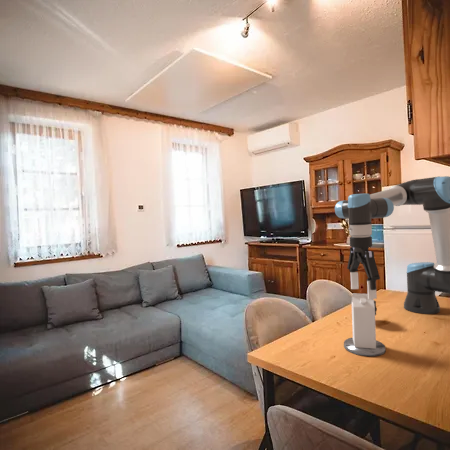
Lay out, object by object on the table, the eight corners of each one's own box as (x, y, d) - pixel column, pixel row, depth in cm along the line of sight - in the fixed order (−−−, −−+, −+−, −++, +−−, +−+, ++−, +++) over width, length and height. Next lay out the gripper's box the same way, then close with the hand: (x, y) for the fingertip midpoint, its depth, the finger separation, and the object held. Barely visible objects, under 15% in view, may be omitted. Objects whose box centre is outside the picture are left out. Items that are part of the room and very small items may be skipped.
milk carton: (352, 339, 121) (351, 291, 120) (372, 341, 119) (371, 291, 118) (354, 347, 114) (353, 296, 113) (376, 349, 112) (374, 296, 111)
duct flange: (373, 339, 123) (373, 336, 123) (393, 355, 109) (393, 351, 109) (338, 341, 123) (338, 338, 123) (353, 357, 109) (353, 354, 109)
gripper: (337, 234, 127) (339, 286, 128) (366, 239, 102) (369, 304, 103) (355, 233, 127) (357, 284, 128) (389, 238, 102) (392, 302, 103)
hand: (363, 293), depth 115 cm, fingers open, 13 cm apart
